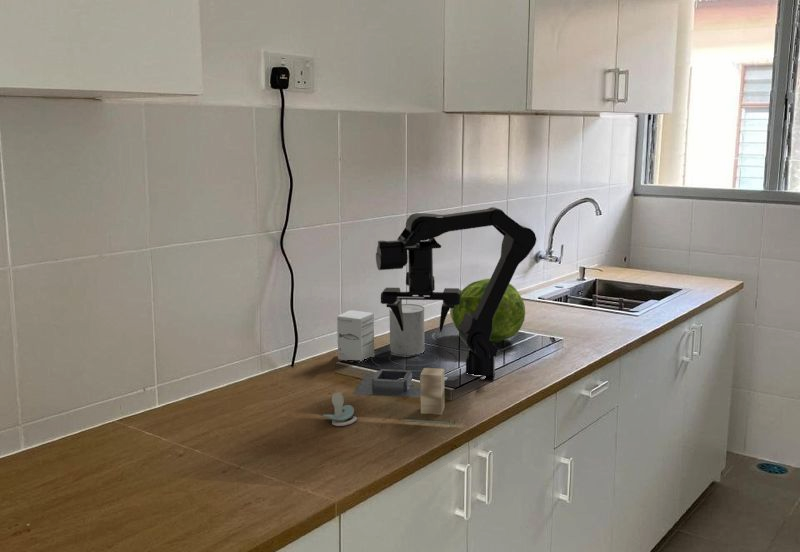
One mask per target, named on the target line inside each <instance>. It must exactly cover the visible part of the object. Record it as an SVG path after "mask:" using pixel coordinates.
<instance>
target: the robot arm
mask: <svg viewBox="0 0 800 552" xmlns="http://www.w3.org/2000/svg"><path fill="white" fill-rule="evenodd" d="M490 226H493V227H494V229H496V231H497V232H499V233H500V235H502V236H503V238H502V241H501V247H500V249H501V250H500V258H499V259H498V262H497V264H496V266H495V268H494V271H493V273H492V274H491V277H490V278H491V279H490V278H489V279H490V281H489V283H488V285H487V287H486V289H485V292H484V294H483V296H482V298H481V300H480V302H479V304H478V306H477V308H476V310H475V311H474V312H473V313H472V314H468V313H467V312H466V313H465V314H464V317H463V321H462V322H461V324H460V325H459V326H458V327H459V328H460V330H459V331H458V335H459V338H460V340H461V341H462V342H463V343H464V345H465V346H466V347H467V349H468V350H469V351H468V353H467V357H466V358H465V374H466V373H468V374H474V375H485V376H486V378H485V379H484V380H483V381H488V382H490V381H492V382H493V381H494V380H495V378H496V377H495V376H496V373H495V371H496V370H495V369H496V366H495V364H496V362H495V361H496V357H497V356H498V352H499V347H498V346H497V345H495V343H494V344H493V343H492V342H491V341H490V337H491V333H492V326H493V317H494V315H495V313H496V311H497V308H498V306H499V304H500V302H501V300H502V298H503V296H504V294H505V292H506V289H507V287H508V285H509V284H511V280H512V279H513V277H514V275H515V272H516V270H517V268H518V266H519V264H521V263H522V262H523V261H524V260H525V259H526V258H527V257H528V256H529V255H530V253H531V251H532V250H533V248H534V247H535V246H536V243H537V236H536V234H535V232H534V230H532V229H531V228H530V227H529V228H528V227H526V226H523V225H521V224H519V223H518V222H517V221H515V220H514V219H512V218H511V217H510V216H509V215H507V213H505V212H504V211H503V209H500V208H497V207H495V206H492V207H489V208H486V209H485V208H483V209H476V210H468V211H464V212H455V213H448V214H447V213H446V214H437V213H429V212H428V213H424V212H423V213H421V212H415V213H412V214H410V215H409V216H408V217H407V219H406V222H405V227H404V229H402V232H401V233H400V235H399V236H398V238H397V239H396V240H378V241H377V247H376V253H375V263H376V268H377V270H378V271H388V270H399V269H401V270H402V269H403V268H404V267H406V266H407V264H408V271H407V272H406V274H405V275H406V276H405V285H406V286H408V291H401V288H400V287H384V289H383V290H382V292H381V293H380V304H381V305H382V304H383V305H385V306H386V308H391V310H392V311H393V313H394V315H395V316H396V319H397V321H398V323H399V326H400V328H401V330H402V331H404V321H403V313H402V304H403V300H404V301H405V300H407V301H409V300H411V301H413V300H414V301H442V304H441V310H440V318H439V332H440V333H441V332H443V328H444V324H445V321H446V318H447V315H448V313H449V312H450V308H454V307H455V305H459V304H460V302H461V291H462V290H461V289H460V288H458V287H457V288H456V287H454V288H452V287H451V288H450V287H449V288H448V287H445V288H444V289H443V291H436V290H435V289H436V286H435V277H434V266H433V265H434V262H433V255H434V253H433V250H435V249H441V248H442V245H441V244H440V243H439V242H437V240H436V238H438V237H439V236H441V235H443V234H447V233H448V232H455V231H462V230H470V229H475V228H477V229H478V228H483V227H490Z"/></svg>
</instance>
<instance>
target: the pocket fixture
mask: <svg viewBox="0 0 800 552" xmlns="http://www.w3.org/2000/svg"><path fill="white" fill-rule="evenodd" d="M369 374H370V373H369ZM369 374H368V373H367V374H366V375H365V376H364V377H363V378H362V380H361V381H360V382H359V384H358V385H357V387H356V388H355V389H354V391H353V392H351V393H352V395H362V396H363V395H364V396H380V397H382V396H384V397H398V398H399V397H401V398H416V399H421V387H418V386H414V385H411V380H412V377H413V372H412V371H411V370H408V369H407V370H406V369H389V368H387V369H386V368H381V369H380V370H377V371H376V372H375V373H374V374H375V375H369ZM399 378H403V380H397V379H399Z"/></svg>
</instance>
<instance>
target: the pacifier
mask: <svg viewBox="0 0 800 552" xmlns="http://www.w3.org/2000/svg"><path fill="white" fill-rule="evenodd" d="M331 403H332V405H333V406H334V407H333V408H334V414H323V417H325V418H326V419H329V420H332V421H331V424H332V425H333V426H336V427H344V426H349V425H351V424H354V423H355V422H356V421H358V416H357V415H354V413H355V409H354V407H353V406H352V405H350V404H345V405H344V403H345V399H344V395H343V394H342V393H341V392H335V393H334V394H333V395H332V397H331ZM348 419H350V420H348Z"/></svg>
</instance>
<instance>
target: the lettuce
mask: <svg viewBox="0 0 800 552" xmlns="http://www.w3.org/2000/svg"><path fill="white" fill-rule="evenodd" d="M490 279H491V277H490V278H484V279H480V280H476V281H474V282H470V284H468V285H466V286H465V287H463V289H462V290H461V302H460V304H459V305H455V307H454V308H450V309H449V315H450V318H451V320H452V322H453V324H454V327H455V328H456V330H457V331H458V332H459V330H460V328H459V327H458V326H459V325H460V324H461V322H462V321H463V317H464V314H465V313H466V312H467V313H468V314H472V313H473V312H474V311H475V310H476V308H477V306H478V304H479V302H480V300H481V298H482V296H483V294H484V292H485V289H486V287H487V285H488V283H489V281H490ZM525 317H526V306H525V302H524V300H523V297H522V295H521V294H520V293H519V292H518V290H517V288H515V286H513V284H511V283H509V285H508V287H507V289H506V292H505V294H504V296H503V298H502V300H501V302H500V304H499V306H498V308H497V311H496V313H495V315H494V317H493V326H492V333H491V337H490V341H491V342H492V343H493V344H494V345H495V344H497V343H499V342H503V341H505V340H507V339H510V338H512V337H514V336H515V335H516V334H517V333H518V332H519V331H520V330H521V328H522V326H523V324H524V321H525Z"/></svg>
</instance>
